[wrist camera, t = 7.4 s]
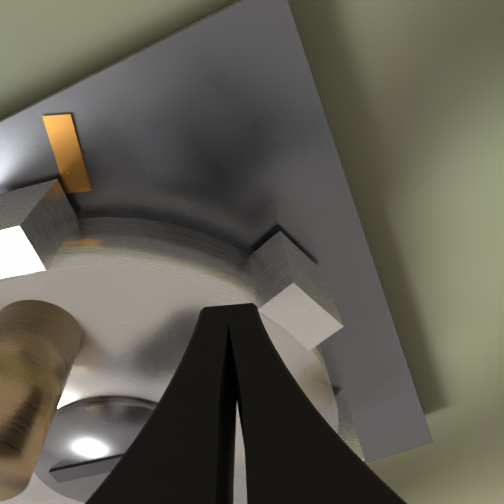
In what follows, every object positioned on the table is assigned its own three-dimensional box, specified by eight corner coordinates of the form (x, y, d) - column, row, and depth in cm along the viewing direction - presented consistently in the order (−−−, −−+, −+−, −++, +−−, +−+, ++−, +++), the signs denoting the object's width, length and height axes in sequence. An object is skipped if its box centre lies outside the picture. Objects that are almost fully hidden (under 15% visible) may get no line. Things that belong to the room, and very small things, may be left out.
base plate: (421, 417, 24) (433, 443, 22) (78, 525, 27) (70, 554, 26) (274, -19, 12) (282, -19, 11) (-283, 261, 16) (-330, 287, 14)
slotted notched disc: (295, 118, 13) (369, 242, 7) (357, 466, 23) (410, 646, 16) (-234, 253, 14) (-589, 467, 8) (46, 530, 24) (-13, 719, 18)
